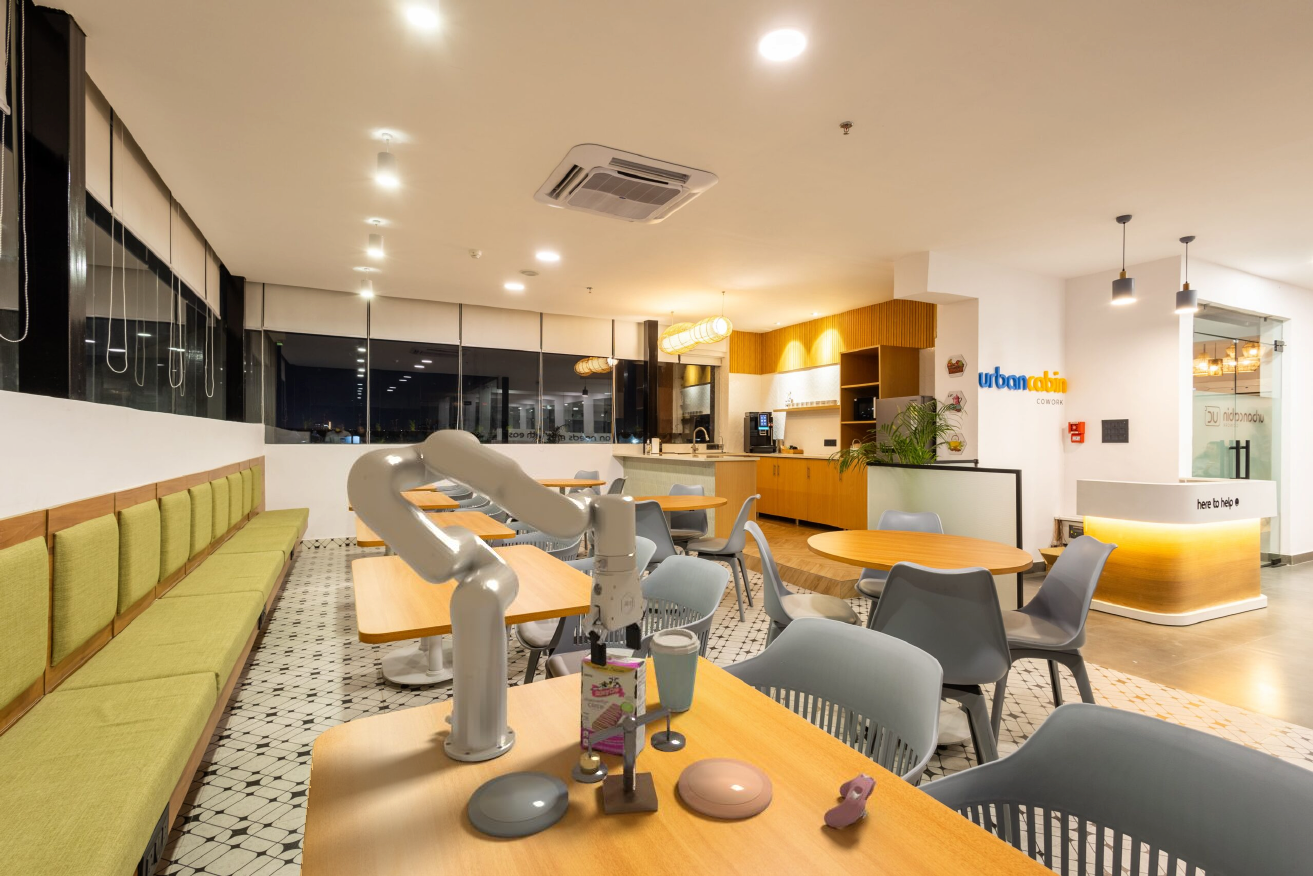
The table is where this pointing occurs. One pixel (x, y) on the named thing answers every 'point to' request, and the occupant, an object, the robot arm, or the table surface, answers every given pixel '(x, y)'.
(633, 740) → the balance
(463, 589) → the robot arm
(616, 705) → the candy bar box
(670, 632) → the disposable coffee cup
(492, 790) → the dish
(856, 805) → the pink curved piece
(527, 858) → the table surface
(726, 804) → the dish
